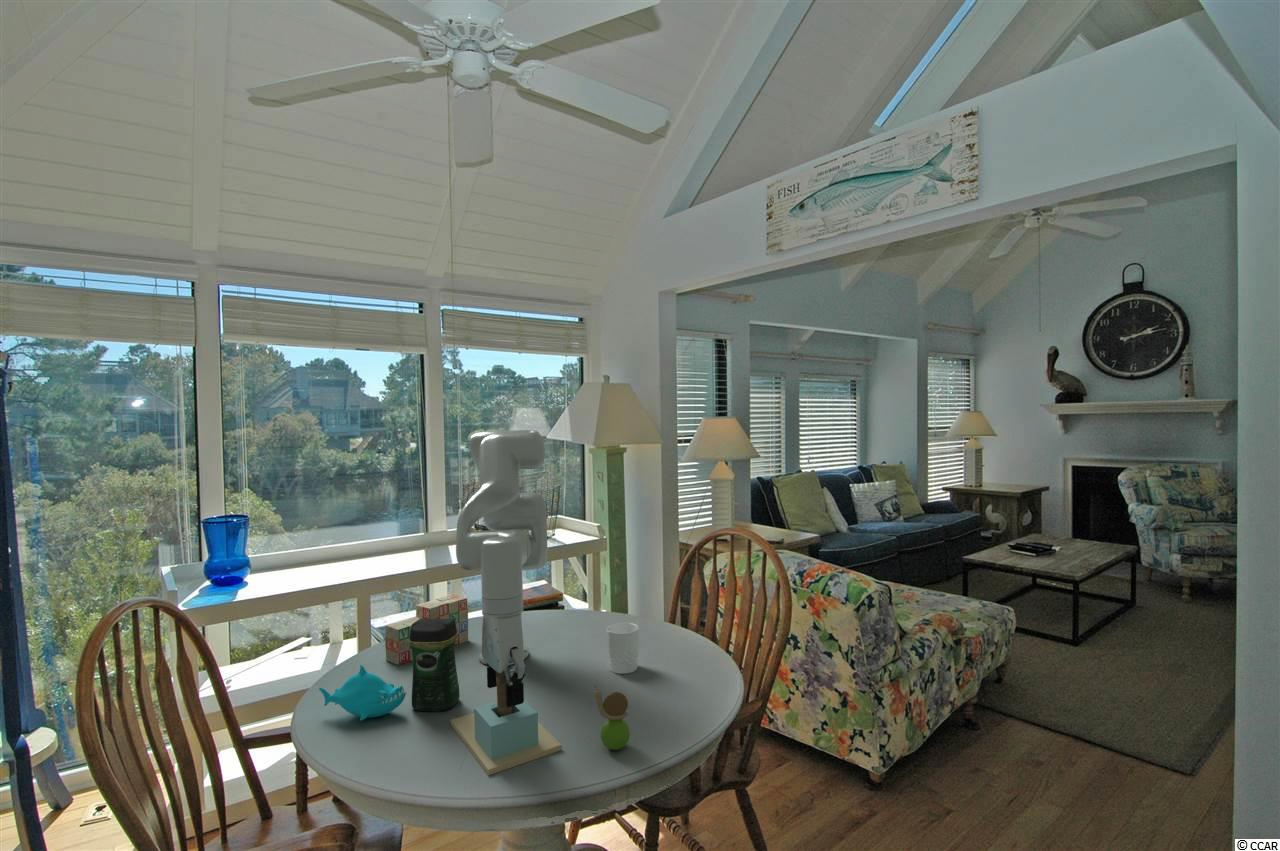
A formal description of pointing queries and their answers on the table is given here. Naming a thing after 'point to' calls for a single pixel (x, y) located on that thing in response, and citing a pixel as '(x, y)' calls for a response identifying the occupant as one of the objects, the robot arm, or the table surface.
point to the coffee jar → (434, 664)
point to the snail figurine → (613, 719)
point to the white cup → (623, 647)
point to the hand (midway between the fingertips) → (505, 695)
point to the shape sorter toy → (504, 736)
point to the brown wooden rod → (502, 694)
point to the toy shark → (366, 695)
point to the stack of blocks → (435, 609)
